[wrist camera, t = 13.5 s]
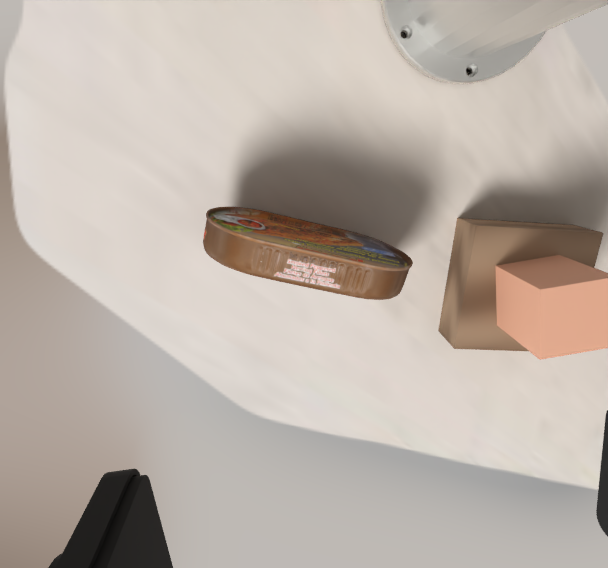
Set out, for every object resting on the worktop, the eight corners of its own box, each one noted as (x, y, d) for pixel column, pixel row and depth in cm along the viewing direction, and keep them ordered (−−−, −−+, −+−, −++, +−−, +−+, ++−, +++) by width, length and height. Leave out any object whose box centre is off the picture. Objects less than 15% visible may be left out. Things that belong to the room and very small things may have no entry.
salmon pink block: (495, 265, 34) (540, 289, 28) (559, 254, 34) (616, 276, 28) (496, 325, 36) (539, 359, 30) (558, 314, 36) (612, 347, 30)
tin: (396, 242, 37) (431, 269, 29) (385, 277, 38) (416, 313, 30) (215, 199, 35) (198, 215, 27) (208, 237, 36) (189, 264, 28)
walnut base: (455, 217, 37) (476, 225, 33) (569, 224, 38) (603, 232, 34) (436, 329, 40) (454, 348, 36) (543, 333, 41) (571, 352, 37)
